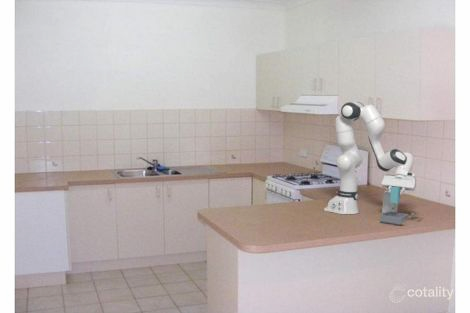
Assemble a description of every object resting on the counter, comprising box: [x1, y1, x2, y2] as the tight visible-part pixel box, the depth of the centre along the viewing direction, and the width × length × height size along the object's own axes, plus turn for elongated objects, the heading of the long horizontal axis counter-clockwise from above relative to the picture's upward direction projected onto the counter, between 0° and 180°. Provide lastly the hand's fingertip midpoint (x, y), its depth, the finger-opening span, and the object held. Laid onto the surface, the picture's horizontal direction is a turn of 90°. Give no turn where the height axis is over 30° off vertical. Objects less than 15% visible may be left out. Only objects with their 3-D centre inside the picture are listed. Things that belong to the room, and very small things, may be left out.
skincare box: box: [381, 190, 399, 214], centre depth 340 cm, size 8×6×15 cm
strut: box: [390, 187, 401, 204], centre depth 316 cm, size 4×4×9 cm
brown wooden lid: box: [407, 212, 425, 222], centre depth 324 cm, size 12×12×5 cm
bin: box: [379, 211, 409, 227], centre depth 318 cm, size 13×13×5 cm
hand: (395, 193), depth 315 cm, fingers closed on strut, 4 cm apart
